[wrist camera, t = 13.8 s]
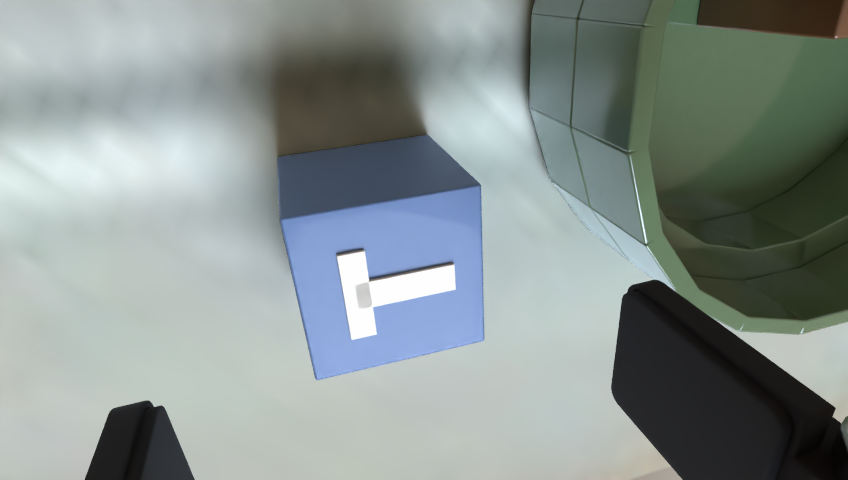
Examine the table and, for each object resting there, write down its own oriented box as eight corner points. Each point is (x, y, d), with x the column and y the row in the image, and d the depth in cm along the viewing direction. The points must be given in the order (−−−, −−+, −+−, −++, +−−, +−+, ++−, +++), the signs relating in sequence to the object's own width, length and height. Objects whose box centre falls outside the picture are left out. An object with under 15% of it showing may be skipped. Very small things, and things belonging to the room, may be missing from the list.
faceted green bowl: (529, -323, 13) (709, -537, 7) (1053, -302, 16) (1419, -436, 11) (519, 290, 21) (600, 389, 16) (866, 214, 25) (1024, 274, 20)
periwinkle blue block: (276, 156, 16) (279, 220, 12) (428, 134, 17) (483, 185, 13) (305, 288, 18) (316, 384, 14) (437, 262, 19) (486, 343, 15)
